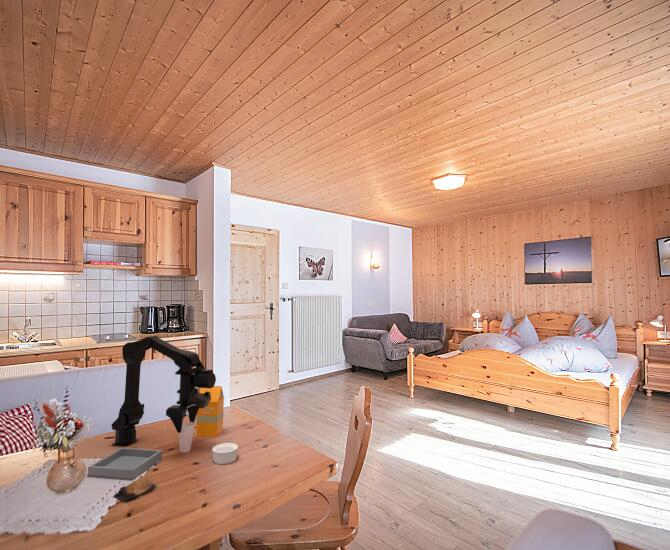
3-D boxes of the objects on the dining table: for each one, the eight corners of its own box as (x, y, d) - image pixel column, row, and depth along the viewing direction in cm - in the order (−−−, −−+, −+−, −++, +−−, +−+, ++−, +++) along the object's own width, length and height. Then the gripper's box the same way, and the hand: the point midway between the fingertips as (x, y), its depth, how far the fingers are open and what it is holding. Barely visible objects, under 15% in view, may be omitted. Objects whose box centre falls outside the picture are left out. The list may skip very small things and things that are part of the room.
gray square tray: (87, 476, 117) (88, 466, 117) (121, 456, 132) (122, 447, 132) (132, 480, 115) (132, 470, 115) (161, 459, 130) (162, 450, 130)
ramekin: (207, 459, 130) (207, 447, 131) (229, 452, 137) (229, 440, 137) (220, 467, 124) (220, 454, 125) (242, 459, 131) (242, 447, 131)
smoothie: (187, 454, 134) (189, 415, 135) (172, 453, 135) (173, 414, 136) (197, 448, 140) (199, 410, 141) (182, 446, 141) (184, 409, 142)
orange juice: (216, 437, 151) (218, 388, 153) (195, 437, 151) (197, 388, 153) (222, 430, 159) (224, 384, 161) (202, 430, 159) (204, 383, 161)
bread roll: (143, 482, 114) (143, 470, 115) (161, 488, 111) (162, 476, 111) (109, 498, 105) (110, 485, 105) (128, 506, 101) (129, 492, 102)
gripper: (195, 393, 129) (193, 438, 128) (218, 382, 148) (217, 421, 146) (166, 392, 131) (163, 436, 129) (192, 380, 149) (190, 420, 148)
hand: (185, 428), depth 138 cm, fingers open, 9 cm apart
